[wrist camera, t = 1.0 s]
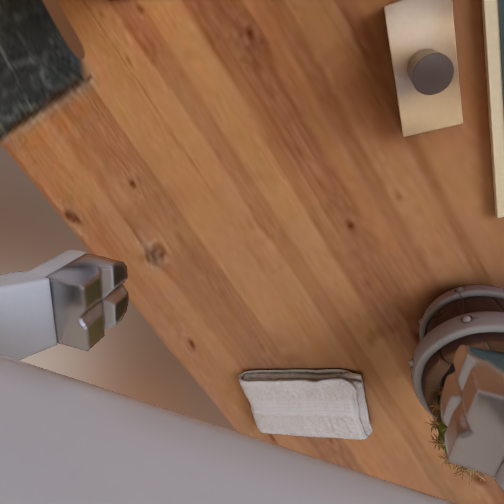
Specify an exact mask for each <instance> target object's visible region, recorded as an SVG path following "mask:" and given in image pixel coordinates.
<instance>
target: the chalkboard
mask: <svg viewBox="0 0 504 504" xmlns="http://www.w3.org/2000/svg"><path fill="white" fill-rule="evenodd" d="M481 5H482V21H483V36H484V51H485V67H486V82H487V97H488V113H489V128H490V143H491V159H492V174H493V189H494V205H495V214H496V216H497V218H499V217H504V0H481Z"/></svg>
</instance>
